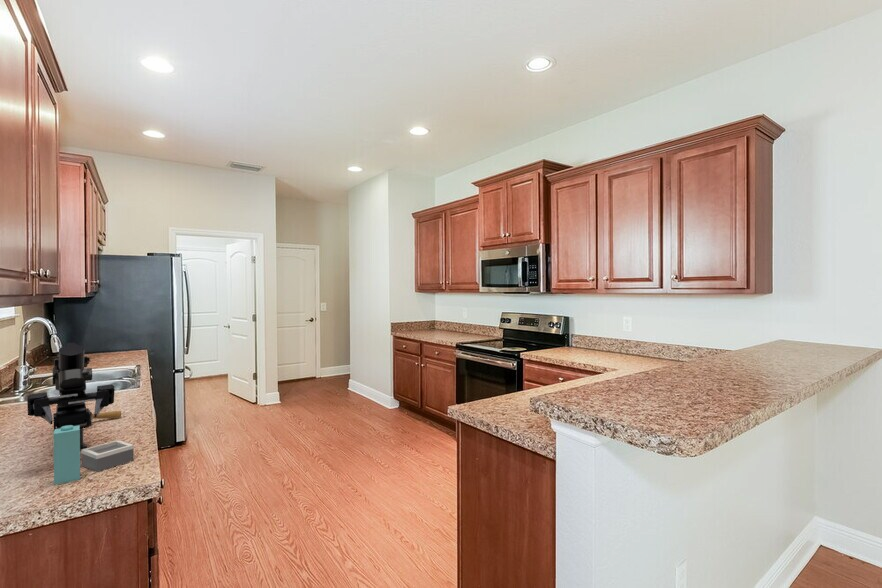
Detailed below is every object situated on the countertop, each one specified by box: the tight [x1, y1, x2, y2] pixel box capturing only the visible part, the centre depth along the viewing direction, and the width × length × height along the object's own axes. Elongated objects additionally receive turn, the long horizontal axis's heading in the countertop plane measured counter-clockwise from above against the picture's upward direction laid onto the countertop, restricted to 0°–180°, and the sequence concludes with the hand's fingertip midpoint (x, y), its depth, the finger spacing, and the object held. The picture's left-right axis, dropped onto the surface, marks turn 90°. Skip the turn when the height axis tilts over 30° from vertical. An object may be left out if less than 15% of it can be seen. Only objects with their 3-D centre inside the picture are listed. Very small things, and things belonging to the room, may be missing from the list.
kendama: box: [91, 410, 122, 422], centre depth 161 cm, size 8×6×18 cm
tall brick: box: [52, 425, 81, 486], centre depth 112 cm, size 5×5×14 cm
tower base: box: [80, 439, 135, 473], centre depth 122 cm, size 9×9×4 cm
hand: (74, 419), depth 117 cm, fingers open, 9 cm apart
